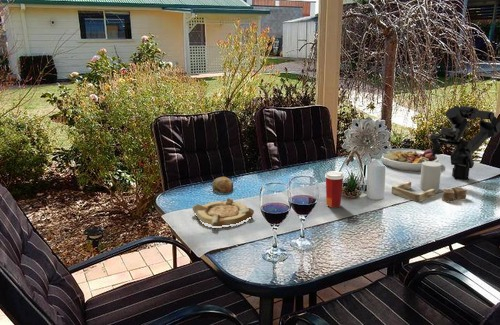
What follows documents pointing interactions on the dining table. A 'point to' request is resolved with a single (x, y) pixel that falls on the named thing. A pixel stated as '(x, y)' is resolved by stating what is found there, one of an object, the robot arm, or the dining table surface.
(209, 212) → the ashtray
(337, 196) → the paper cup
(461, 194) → the walnut block
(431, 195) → the open wooden frame
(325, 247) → the dining table surface
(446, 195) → the walnut block
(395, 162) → the bowl
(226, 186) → the bread roll
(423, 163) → the cup
